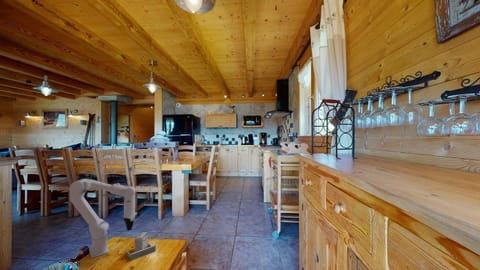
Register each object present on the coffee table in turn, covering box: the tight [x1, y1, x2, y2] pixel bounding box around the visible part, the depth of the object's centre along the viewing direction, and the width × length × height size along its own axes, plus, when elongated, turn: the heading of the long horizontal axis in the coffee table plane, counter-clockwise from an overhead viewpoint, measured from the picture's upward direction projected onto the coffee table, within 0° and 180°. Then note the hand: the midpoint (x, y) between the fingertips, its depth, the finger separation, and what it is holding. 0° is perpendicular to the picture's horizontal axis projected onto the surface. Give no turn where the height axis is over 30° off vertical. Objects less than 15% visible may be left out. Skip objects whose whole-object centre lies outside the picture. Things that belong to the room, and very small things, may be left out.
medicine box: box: [134, 231, 149, 253], centre depth 109 cm, size 8×4×9 cm, turn 5°
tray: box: [125, 242, 157, 262], centre depth 106 cm, size 9×13×3 cm
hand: (129, 230), depth 112 cm, fingers closed
